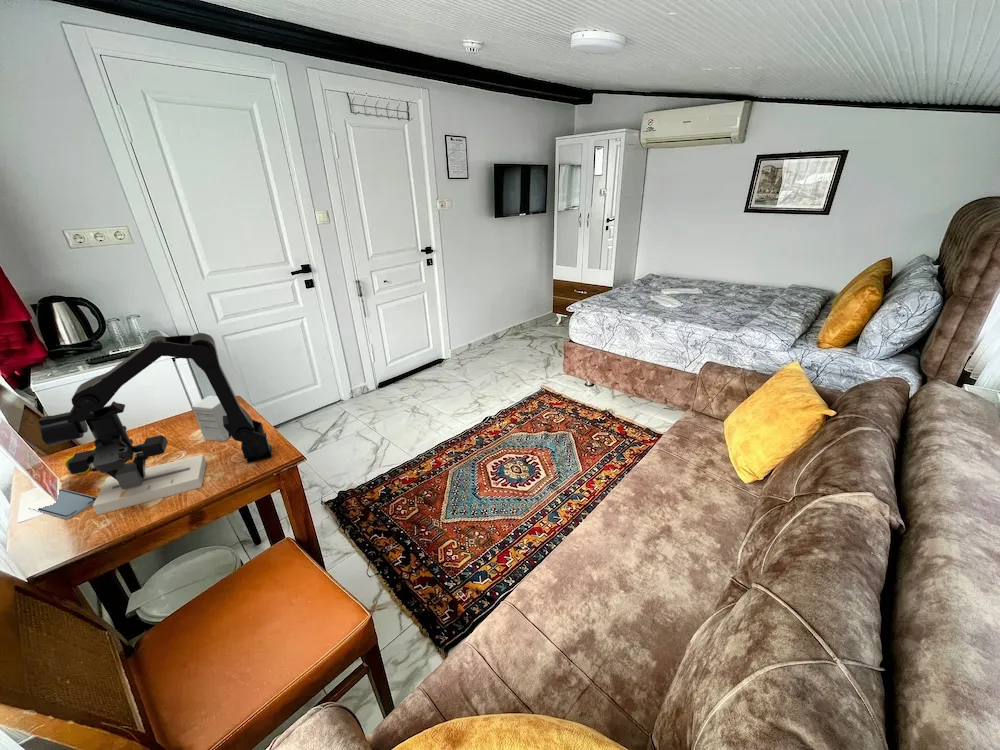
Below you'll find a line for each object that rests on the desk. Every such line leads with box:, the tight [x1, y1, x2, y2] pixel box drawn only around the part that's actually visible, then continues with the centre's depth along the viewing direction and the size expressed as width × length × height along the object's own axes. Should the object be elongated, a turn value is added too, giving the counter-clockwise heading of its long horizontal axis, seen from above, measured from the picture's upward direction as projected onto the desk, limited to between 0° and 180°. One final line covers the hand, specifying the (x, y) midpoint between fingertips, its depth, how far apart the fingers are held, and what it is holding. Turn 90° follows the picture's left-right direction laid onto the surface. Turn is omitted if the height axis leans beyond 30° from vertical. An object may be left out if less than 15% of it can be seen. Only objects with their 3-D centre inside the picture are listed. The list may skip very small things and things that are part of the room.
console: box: [92, 454, 207, 516], centre depth 111 cm, size 22×12×3 cm, turn 117°
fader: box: [115, 461, 146, 489], centre depth 108 cm, size 4×5×4 cm
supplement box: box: [191, 395, 230, 442], centre depth 132 cm, size 7×7×13 cm
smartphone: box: [37, 488, 97, 520], centre depth 106 cm, size 7×1×15 cm
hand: (133, 479), depth 108 cm, fingers closed on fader, 4 cm apart
